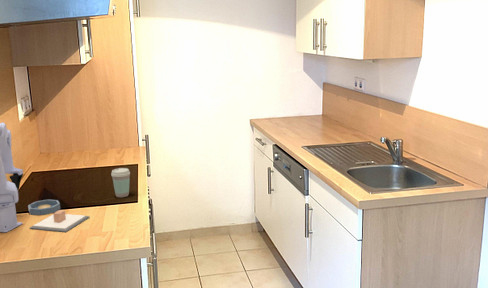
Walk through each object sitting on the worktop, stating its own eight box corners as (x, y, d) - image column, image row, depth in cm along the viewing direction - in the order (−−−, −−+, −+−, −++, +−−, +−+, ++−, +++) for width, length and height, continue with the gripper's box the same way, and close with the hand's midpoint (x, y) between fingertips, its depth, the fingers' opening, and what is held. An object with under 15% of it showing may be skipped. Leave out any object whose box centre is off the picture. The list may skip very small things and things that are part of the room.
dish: (48, 215, 207) (47, 210, 207) (23, 213, 210) (22, 208, 210) (65, 206, 218) (64, 200, 218) (41, 204, 221) (40, 199, 221)
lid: (65, 229, 190) (64, 219, 189) (33, 227, 194) (32, 216, 193) (85, 217, 203) (84, 207, 203) (55, 214, 207) (54, 204, 206)
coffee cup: (124, 191, 238) (122, 166, 235) (135, 194, 232) (133, 169, 230) (108, 196, 231) (106, 170, 229) (120, 199, 226) (118, 173, 223)
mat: (66, 232, 189) (65, 231, 189) (29, 228, 193) (29, 227, 193) (89, 217, 204) (89, 216, 204) (55, 214, 208) (55, 213, 208)
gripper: (26, 156, 206) (30, 188, 209) (-4, 155, 210) (0, 186, 213) (14, 161, 200) (18, 194, 203) (-16, 159, 203) (-12, 191, 207)
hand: (8, 190), depth 208 cm, fingers open, 7 cm apart
